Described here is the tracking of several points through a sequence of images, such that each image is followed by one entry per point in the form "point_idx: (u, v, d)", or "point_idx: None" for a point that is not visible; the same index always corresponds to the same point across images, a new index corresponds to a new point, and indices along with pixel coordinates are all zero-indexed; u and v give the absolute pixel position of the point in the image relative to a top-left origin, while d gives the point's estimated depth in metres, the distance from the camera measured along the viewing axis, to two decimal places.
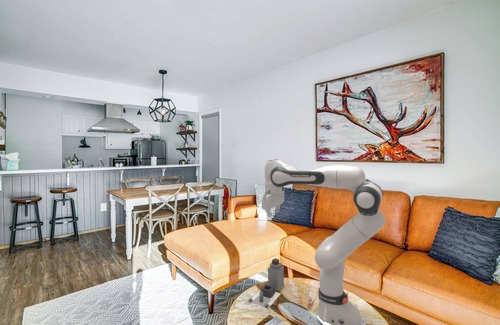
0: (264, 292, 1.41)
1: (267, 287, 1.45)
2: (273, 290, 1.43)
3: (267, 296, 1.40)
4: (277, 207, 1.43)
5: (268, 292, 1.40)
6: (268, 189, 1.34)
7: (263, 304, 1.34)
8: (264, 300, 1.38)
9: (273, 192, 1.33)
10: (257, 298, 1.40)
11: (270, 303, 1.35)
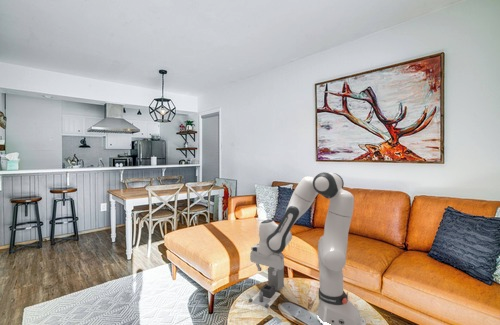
0: (264, 292, 1.41)
1: (267, 287, 1.45)
2: (273, 290, 1.43)
3: (267, 296, 1.40)
4: (258, 265, 1.46)
5: (268, 292, 1.40)
6: None
7: (263, 304, 1.34)
8: (264, 300, 1.38)
9: None
10: (257, 298, 1.40)
11: (270, 303, 1.35)
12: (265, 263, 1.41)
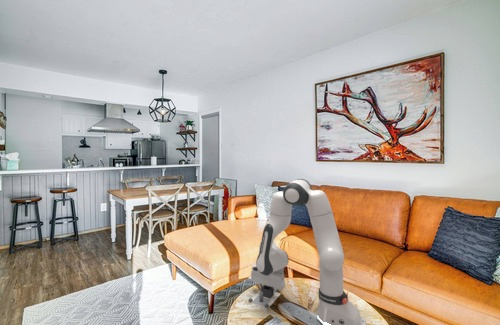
0: (264, 292, 1.41)
1: (267, 287, 1.45)
2: None
3: (267, 296, 1.40)
4: (260, 285, 1.45)
5: (268, 292, 1.40)
6: None
7: (263, 304, 1.34)
8: (264, 300, 1.38)
9: None
10: (257, 298, 1.40)
11: (270, 303, 1.35)
12: (266, 283, 1.41)
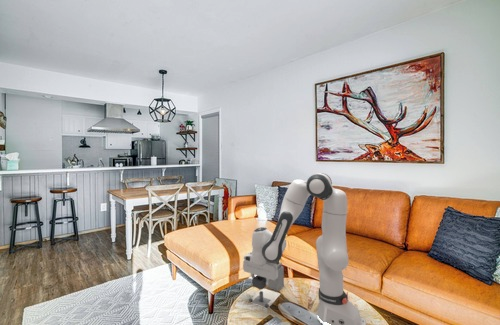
0: (256, 283, 1.34)
1: (259, 278, 1.39)
2: None
3: (259, 287, 1.33)
4: (253, 276, 1.39)
5: (260, 283, 1.33)
6: None
7: (263, 304, 1.34)
8: (264, 300, 1.38)
9: None
10: (257, 298, 1.40)
11: (270, 303, 1.35)
12: (258, 273, 1.35)
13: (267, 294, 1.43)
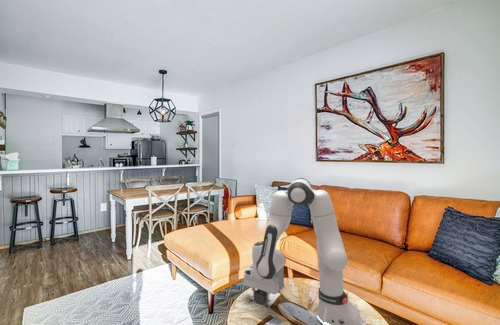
0: (257, 297, 1.35)
1: None
2: None
3: (260, 301, 1.34)
4: (254, 289, 1.39)
5: (261, 297, 1.33)
6: None
7: (263, 304, 1.34)
8: None
9: None
10: None
11: (270, 303, 1.35)
12: (259, 287, 1.35)
13: None
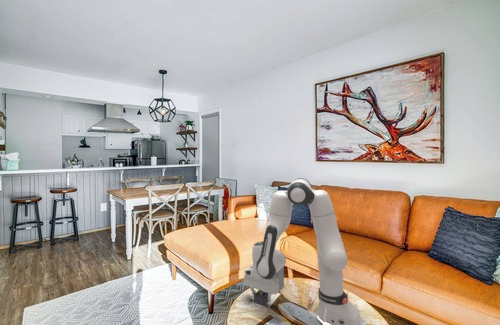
0: (257, 299, 1.35)
1: None
2: None
3: (260, 303, 1.34)
4: (252, 289, 1.40)
5: (261, 299, 1.33)
6: None
7: None
8: None
9: None
10: None
11: (270, 303, 1.35)
12: (259, 287, 1.35)
13: None
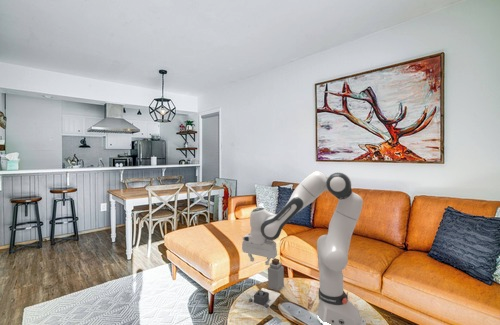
0: (257, 299, 1.35)
1: None
2: (267, 296, 1.36)
3: (260, 303, 1.34)
4: (250, 256, 1.41)
5: (261, 299, 1.33)
6: (265, 238, 1.35)
7: None
8: None
9: None
10: None
11: (270, 303, 1.35)
12: (257, 253, 1.36)
13: None
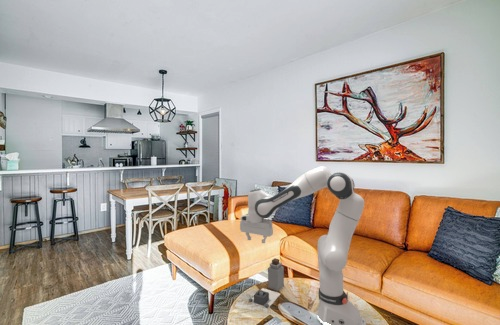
0: (257, 299, 1.35)
1: None
2: (267, 296, 1.36)
3: (260, 303, 1.34)
4: (248, 235, 1.48)
5: (261, 299, 1.33)
6: (262, 217, 1.42)
7: None
8: None
9: (263, 219, 1.44)
10: None
11: (270, 303, 1.35)
12: (254, 231, 1.43)
13: None
